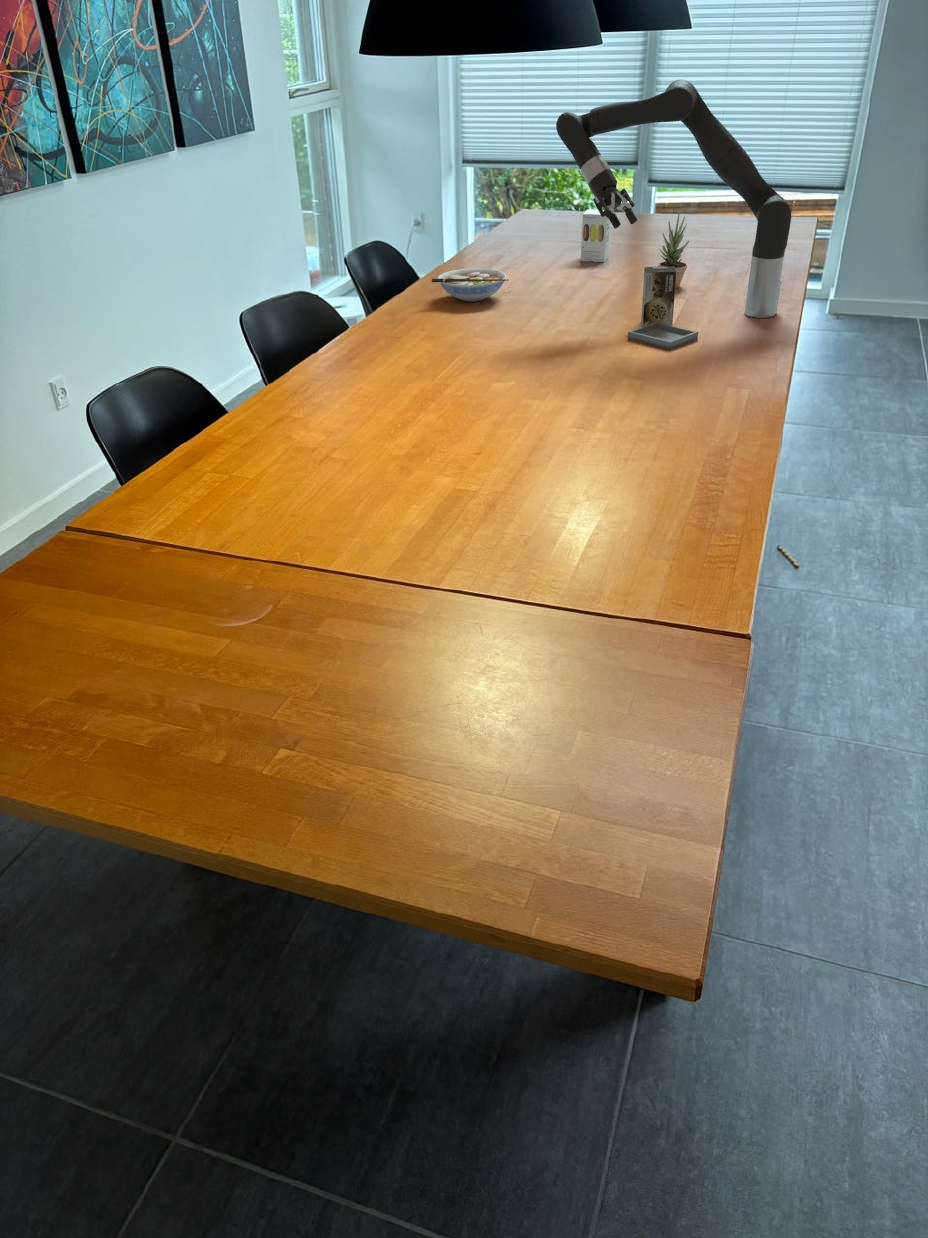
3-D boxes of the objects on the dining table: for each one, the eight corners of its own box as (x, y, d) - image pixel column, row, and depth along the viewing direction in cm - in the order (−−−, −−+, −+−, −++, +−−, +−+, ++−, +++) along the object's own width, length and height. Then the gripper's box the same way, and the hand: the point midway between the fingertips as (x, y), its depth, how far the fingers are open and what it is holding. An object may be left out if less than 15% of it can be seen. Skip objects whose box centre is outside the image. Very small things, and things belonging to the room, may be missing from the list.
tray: (656, 329, 279) (656, 321, 278) (697, 339, 270) (698, 331, 269) (627, 339, 272) (628, 331, 271) (669, 350, 263) (669, 342, 262)
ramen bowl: (511, 289, 322) (511, 265, 318) (507, 308, 303) (507, 282, 299) (439, 290, 325) (438, 265, 320) (431, 308, 306) (430, 282, 301)
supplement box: (579, 261, 354) (581, 213, 344) (584, 255, 361) (586, 208, 352) (605, 262, 351) (607, 214, 342) (609, 256, 358) (611, 209, 349)
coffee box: (670, 320, 286) (675, 265, 277) (672, 326, 281) (677, 270, 272) (640, 320, 287) (644, 265, 278) (641, 326, 282) (645, 271, 273)
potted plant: (687, 289, 316) (695, 210, 302) (659, 290, 316) (665, 211, 302) (682, 281, 324) (689, 204, 310) (654, 282, 324) (660, 205, 311)
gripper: (593, 170, 267) (621, 219, 268) (621, 165, 276) (648, 213, 277) (576, 187, 273) (604, 236, 274) (604, 181, 282) (631, 228, 283)
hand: (626, 224), depth 275 cm, fingers open, 8 cm apart
